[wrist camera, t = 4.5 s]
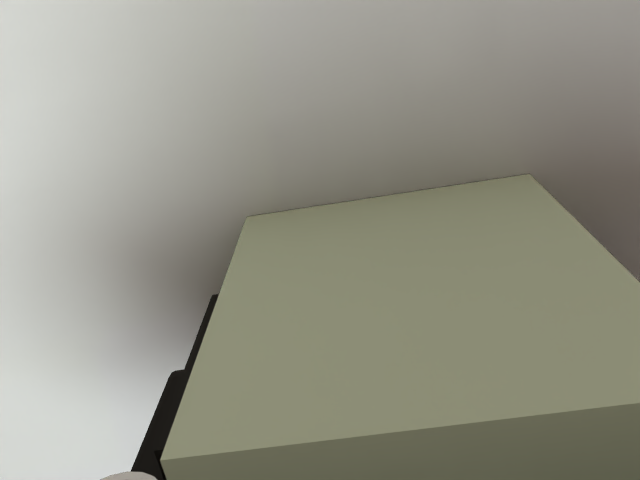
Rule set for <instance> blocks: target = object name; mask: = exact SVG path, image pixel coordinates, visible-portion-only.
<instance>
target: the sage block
mask: <svg viewBox="0 0 640 480" xmlns="http://www.w3.org/2000/svg"><path fill="white" fill-rule="evenodd" d="M160 462H161V465H162V468H163V470H164V473H165V476H166V479H167V480H640V282H639V281H638V280H637V279H636V278H635V277H634V276H633V275H632V274H631V273H630V272H629V271H628V270H627V269H626V268H625V267H624V266H623V265H622V264H621V263H620V262H619V261H618V260H617V259H616V258H615V257H614V256H613V255H612V254H611V253H610V252H608V251H607V250H606V249H605V248H604V247H603V246H602V245H601V244H600V243H599V242H598V241H597V240H596V239H595V238H594V237H593V236H592V235H591V234H590V233H589V232H588V231H587V230H586V229H585V228H584V227H583V226H582V225H581V224H580V223H579V222H578V221H577V220H576V219H575V218H574V217H573V216H572V215H571V214H570V213H569V212H568V211H567V210H566V209H565V208H564V207H563V206H562V205H561V204H560V203H559V202H558V201H557V200H556V199H555V198H554V197H553V196H552V195H551V194H550V193H549V192H548V191H547V190H546V189H544V188H543V187H542V186H541V185H540V184H539V183H538V182H537V181H536V180H535V179H534V178H533V177H532V176H531V175H530V174H525V175H519V176H512V177H505V178H499V179H492V180H486V181H479V182H473V183H466V184H459V185H453V186H446V187H440V188H433V189H426V190H420V191H413V192H407V193H400V194H393V195H387V196H380V197H374V198H367V199H361V200H354V201H347V202H341V203H334V204H328V205H321V206H314V207H308V208H301V209H295V210H288V211H281V212H275V213H268V214H262V215H255V216H248V217H246V220H245V223H244V226H243V228H242V231H241V234H240V237H239V240H238V242H237V245H236V248H235V251H234V254H233V256H232V259H231V262H230V265H229V268H228V271H227V273H226V276H225V279H224V282H223V285H222V287H221V290H220V293H219V296H218V299H217V301H216V304H215V307H214V310H213V313H212V316H211V318H210V321H209V324H208V327H207V330H206V332H205V335H204V338H203V341H202V344H201V346H200V349H199V352H198V355H197V358H196V361H195V363H194V366H193V369H192V372H191V375H190V377H189V380H188V383H187V386H186V389H185V391H184V394H183V397H182V400H181V403H180V406H179V408H178V411H177V414H176V417H175V420H174V422H173V425H172V428H171V431H170V434H169V436H168V439H167V442H166V445H165V448H164V451H163V453H162V456H161V459H160Z"/></svg>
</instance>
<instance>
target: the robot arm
mask: <svg viewBox="0 0 640 480" xmlns="http://www.w3.org/2000/svg"><path fill="white" fill-rule="evenodd" d="M218 296H219V294H216V295H212V297H211V299H210V302H209V305H208V307H207V310H206V313H205V315H204V318H203V321H202V323H201V326H200V329H199V332H198V334H197V337H196V340H195V342H194V345H193V348H192V350H191V353H190V356H189V358H188V361H187V364H186V366H185V369H184V370H177V371H174V372H172V373H171V375H170V377H169V378H168V381H167V383H166V386H165V388H164V391H163V393H162V396H161V398H160V401H159V403H158V405H157V408H156V410H155V413H154V415H153V418H152V420H151V423H150V425H149V428H148V430H147V433H146V435H145V437H144V440H143V442H142V445H141V447H140V450H139V452H138V455H137V457H136V460H135V462H134V465H133V467H132V470H131V472H123V473H119V474H114V475H110V476H108V477H105V478H103V479H101V480H167V479H166V476H165V473H164V470H163V468H162V465H161V462H160V459H161V456H162V453H163V451H164V448H165V445H166V442H167V439H168V436H169V434H170V431H171V428H172V425H173V422H174V420H175V417H176V414H177V411H178V408H179V406H180V403H181V400H182V397H183V394H184V391H185V389H186V386H187V383H188V380H189V377H190V375H191V372H192V369H193V366H194V363H195V361H196V358H197V355H198V352H199V349H200V346H201V344H202V341H203V338H204V335H205V332H206V330H207V327H208V324H209V321H210V318H211V316H212V313H213V310H214V307H215V304H216V301H217V299H218Z"/></svg>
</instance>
